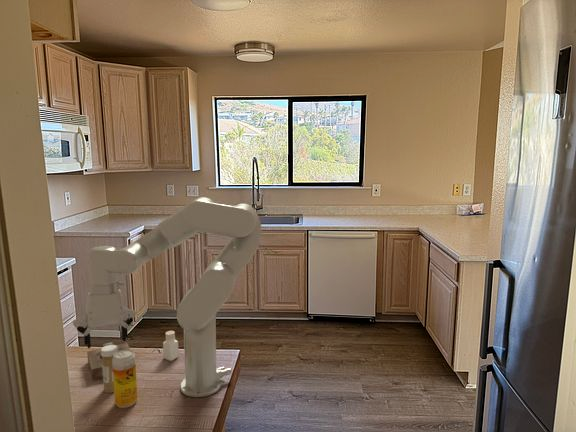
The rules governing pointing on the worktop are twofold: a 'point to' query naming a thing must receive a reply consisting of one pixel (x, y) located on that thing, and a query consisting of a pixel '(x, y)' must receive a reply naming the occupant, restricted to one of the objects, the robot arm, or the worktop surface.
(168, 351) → the pepper shaker
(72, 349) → the worktop surface
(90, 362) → the open brown cardboard box
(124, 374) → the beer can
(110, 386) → the sprinkles bottle
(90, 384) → the worktop surface
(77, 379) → the worktop surface
